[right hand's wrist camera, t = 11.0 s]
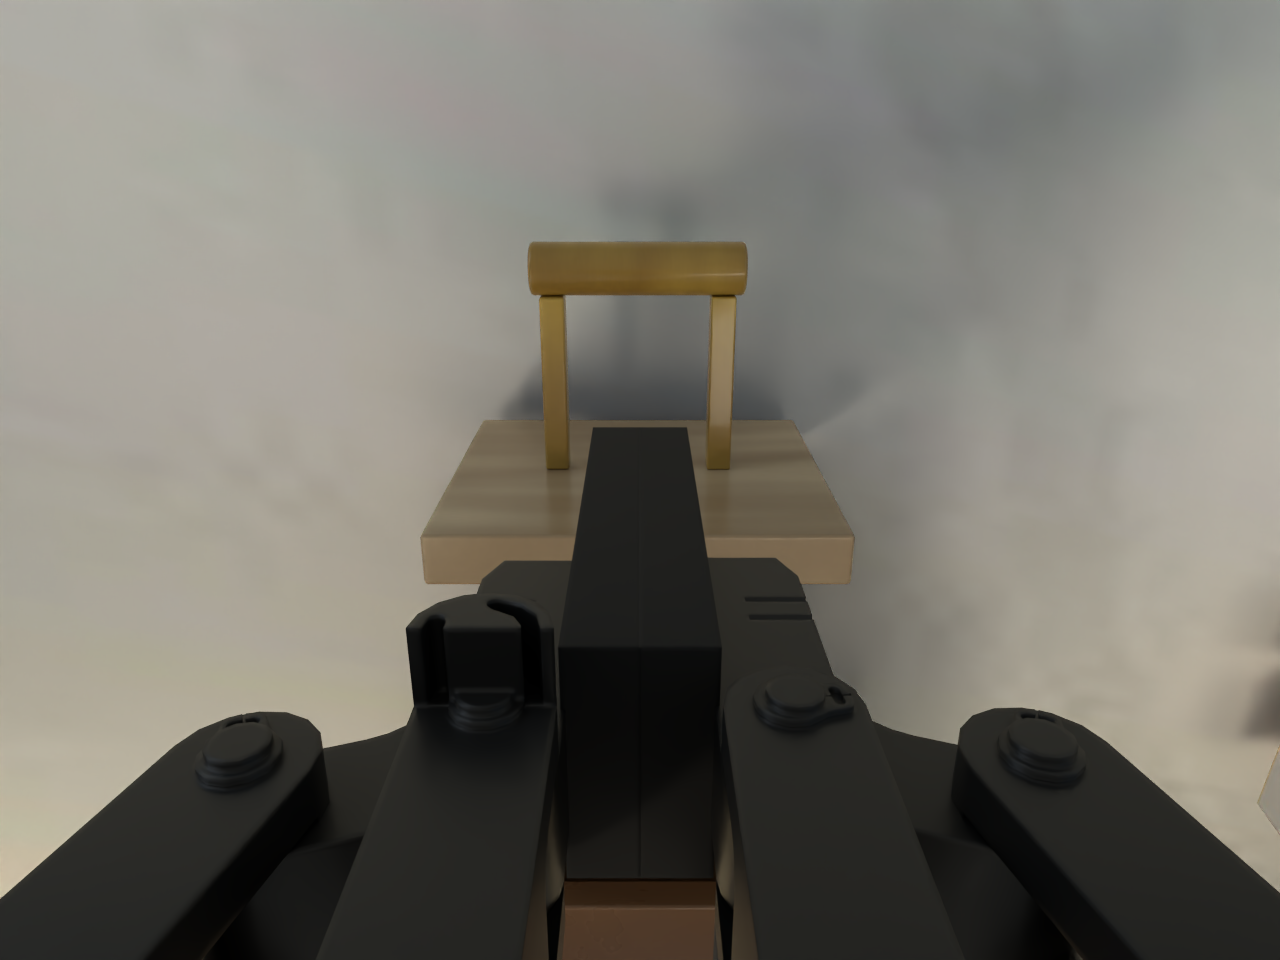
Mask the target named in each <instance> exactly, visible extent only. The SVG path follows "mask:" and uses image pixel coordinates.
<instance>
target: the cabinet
mask: <svg viewBox="0 0 1280 960" xmlns="http://www.w3.org/2000/svg"><path fill="white" fill-rule="evenodd" d="M564 897H565V932H564V943H563V954H562V960H713V948H714V923H715V897H716V881H564Z"/></svg>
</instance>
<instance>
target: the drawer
mask: <svg viewBox="0 0 1280 960" xmlns="http://www.w3.org/2000/svg"><path fill="white" fill-rule="evenodd" d="M747 274H748V254H747V247H746V244H745V243H744V242H532V243H530V245H529V249H528V281H529V288H530V291H531V294H533V295H541V297H540V299H539V310H540V335H541V360H542V385H543V410H544V420H485V421H483V422H482V424H481V426H480V428H479V430H478V432H477V434H476V435H475V437H474V439H473V441H472V443H471V445H470V446H469V448H468V450H467V452H466V454H465V456H464V457H463V459H462V461H461V463H460V465H459V467H458V468H457V470H456V472H455V474H454V476H453V478H452V480H451V481H450V483H449V485H448V487H447V489H446V491H445V492H444V494H443V496H442V498H441V500H440V502H439V503H438V505H437V507H436V509H435V511H434V513H433V515H432V516H431V518H430V520H429V522H428V524H427V526H426V527H425V529H424V531H423V533H422V535H421V537H420V539H421V549H422V559H423V570H424V580H425V582H426V583H427V584H481V581H482V579H483V578H484V577H485V576H486V575H488V574H489V573H490V572H491V571H492V570H494V569H495V568H496V567H497V566H499V565H500V564H501V563H502V562H503V561H572V556H573V550H574V544H575V537H576V531H577V525H578V518H579V512H580V506H581V499H582V493H583V487H584V481H585V474H586V468H587V462H588V455H589V449H590V443H591V437H592V430H593V427H687V430H688V437H689V443H690V449H691V455H692V462H693V468H694V474H695V481H696V487H697V493H698V499H699V506H700V512H701V518H702V525H703V531H704V537H705V544H706V550H707V556H708V558H777V559H778V560H779V561H780V562H782V563H783V564H784V565H785V566H786V567H788V568H789V569H790V570H791V571H793V572H794V573H795V574H796V575H797V576H798V577H799V580H800V583H801V584H848V583H850V581H851V572H852V561H853V551H854V540H855V537H854V534H853V533H852V531H851V529H850V527H849V525H848V523H847V521H846V519H845V518H844V516H843V514H842V512H841V510H840V508H839V506H838V504H837V502H836V501H835V499H834V497H833V495H832V493H831V491H830V489H829V487H828V486H827V484H826V482H825V480H824V478H823V476H822V474H821V472H820V470H819V469H818V467H817V465H816V463H815V461H814V459H813V457H812V455H811V454H810V452H809V450H808V448H807V446H806V444H805V442H804V440H803V438H802V437H801V435H800V433H799V431H798V429H797V427H796V425H795V423H794V422H793V421H792V420H732V407H733V381H734V354H735V328H736V302H737V299H736V296H735V295H743V294H744V293H745V290H746V285H747ZM565 295H710V309H709V345H708V382H707V418H706V420H569V390H568V356H567V323H566V296H565ZM564 881H716V871H715V861H714V871H713V878H567V871H566V866H565V876H564Z"/></svg>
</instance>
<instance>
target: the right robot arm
mask: <svg viewBox="0 0 1280 960" xmlns="http://www.w3.org/2000/svg"><path fill="white" fill-rule="evenodd" d="M406 635H407V645H408V654H409V663H410V673H411V682H412V691H413V701H414V708H413V710H412V713H411V715H410V718H409V721H408V723H407V725H406V726H404V727H402V728H400V729H397V730H395V731H393V732H390V733H388V734H385V735H381V736H377V737H374V738H370V739H367V740H362V741H357V742H353V743H348V744H343V745H338V746H333V747H329V748H324V749H323V746H322V740H321V733H320V732H319V731H318V730H317V729H316V727H315V726H314V725H313V724H312V723H311V722H310V721H309V720H308V719H305V718H302V717H299V716H296V715H293V714H290V713H287V712H255V713H247V714H245V715H242V714H241V715H237V716H233V717H229V718H226V719H224V720H221V721H219V722H216V723H214V724H211V725H209V726H206V727H204V728H201V729H199V730H198V731H196V732H195V733H193V734H192V735H190V736H189V737H187V738H186V739H184V740H183V741H181V742H180V743H178V744H177V745H175V746H174V747H173V748H172V749H170V750H169V751H168V752H167V753H166V754H165V755H164V756H162V757H161V758H160V759H159V760H158V761H157V762H156V763H155V764H153V765H152V766H151V767H150V768H149V769H148V770H147V771H145V772H144V773H143V774H142V775H141V776H140V777H139V778H137V779H136V780H135V781H134V782H133V783H132V784H131V785H129V786H128V787H127V788H126V789H125V790H124V791H123V792H122V793H120V794H119V795H118V796H117V797H116V798H115V799H114V800H112V801H111V802H110V803H109V804H108V805H107V806H106V807H104V808H103V809H102V810H101V811H100V812H99V813H98V814H96V815H95V816H94V817H93V818H92V819H91V820H90V821H89V822H87V823H86V824H85V825H84V826H83V827H82V828H81V829H79V830H78V831H77V832H76V833H75V834H74V835H73V836H71V837H70V838H69V839H68V840H67V841H66V842H65V843H64V844H62V845H61V846H60V847H59V848H58V849H57V850H56V851H54V852H53V853H52V854H51V855H50V856H49V857H48V858H46V859H45V860H44V861H43V862H42V863H41V864H40V865H38V866H37V867H36V868H35V869H34V870H33V871H32V872H31V873H29V874H28V875H27V876H26V877H25V878H24V879H23V880H21V881H20V882H19V883H18V884H17V885H16V886H15V887H13V888H12V889H11V890H10V891H9V892H8V893H7V894H5V895H4V896H3V897H2V898H1V899H0V960H562V954H563V943H564V932H565V897H564V876H565V866H566V871H567V878H713V871H714V861H715V871H716V897H715V923H714V948H713V960H1280V893H1279V892H1278V891H1277V890H1276V889H1275V888H1274V887H1272V886H1271V885H1270V884H1269V883H1268V882H1267V881H1266V880H1264V879H1263V878H1262V877H1261V876H1260V875H1259V874H1258V873H1256V872H1255V871H1254V870H1253V869H1252V868H1251V867H1250V866H1248V865H1247V864H1246V863H1245V862H1244V861H1243V860H1242V859H1240V858H1239V857H1238V856H1237V855H1236V854H1235V853H1233V852H1232V851H1231V850H1230V849H1229V848H1228V847H1227V846H1225V845H1224V844H1223V843H1222V842H1221V841H1220V840H1219V839H1217V838H1216V837H1215V836H1214V835H1213V834H1212V833H1211V832H1209V831H1208V830H1207V829H1206V828H1205V827H1204V826H1203V825H1201V824H1200V823H1199V822H1198V821H1197V820H1196V819H1194V818H1193V817H1192V816H1191V815H1190V814H1189V813H1188V812H1186V811H1185V810H1184V809H1183V808H1182V807H1181V806H1180V805H1178V804H1177V803H1176V802H1175V801H1174V800H1173V799H1172V798H1170V797H1169V796H1168V795H1167V794H1166V793H1165V792H1164V791H1162V790H1161V789H1160V788H1159V787H1158V786H1157V785H1155V784H1154V783H1153V782H1152V781H1151V780H1150V779H1149V778H1147V777H1146V776H1145V775H1144V774H1143V773H1142V772H1141V771H1139V770H1138V769H1137V768H1136V767H1135V766H1134V765H1133V764H1131V763H1130V762H1129V761H1128V760H1127V759H1126V758H1125V757H1123V756H1122V755H1121V754H1120V753H1119V752H1118V751H1117V750H1115V749H1114V748H1113V747H1112V746H1111V745H1110V744H1108V743H1107V742H1106V741H1105V740H1103V739H1102V738H1100V737H1099V736H1097V735H1096V734H1094V733H1093V732H1091V731H1090V730H1088V729H1087V728H1085V727H1084V726H1082V725H1080V724H1077V723H1075V722H1072V721H1070V720H1067V719H1065V718H1062V717H1060V716H1057V715H1055V714H1052V713H1048V712H1044V711H1040V710H1039V711H1036V710H1035V709H1026V708H994V709H991V710H988V711H985V712H982V713H979V714H976V715H973V716H972V717H971V718H970V719H969V720H968V721H967V722H966V723H965V724H964V725H963V726H962V727H961V728H960V733H959V740H958V745H956V744H951V743H946V742H941V741H936V740H932V739H927V738H922V737H917V736H913V735H909V734H906V733H902V732H898V731H895V730H892V729H889V728H887V727H885V726H883V725H880V724H878V723H876V722H873V721H872V719H871V717H870V714H869V712H868V709H867V706H866V704H865V703H864V702H863V700H862V699H861V698H860V696H859V695H858V693H857V692H856V691H855V689H853V688H852V687H850V686H849V685H847V684H846V683H844V682H842V681H841V680H839V679H838V678H836V677H835V676H833V673H832V670H831V667H830V664H829V662H828V659H827V656H826V653H825V650H824V648H823V645H822V642H821V639H820V636H819V633H818V631H817V628H816V625H815V622H814V620H812V614H811V611H810V608H809V605H808V603H807V602H806V597H805V594H804V591H803V588H802V586H801V583H800V580H799V577H798V576H797V575H796V574H795V573H794V572H793V571H791V570H790V569H789V568H788V567H786V566H785V565H784V564H783V563H782V562H780V561H779V560H778V559H777V558H708V556H707V550H706V544H705V537H704V531H703V525H702V518H701V512H700V506H699V499H698V493H697V487H696V481H695V474H694V468H693V462H692V455H691V449H690V443H689V437H688V430H687V427H593V430H592V437H591V443H590V449H589V455H588V462H587V468H586V474H585V481H584V487H583V493H582V499H581V506H580V512H579V518H578V525H577V531H576V537H575V544H574V550H573V556H572V561H503V562H502V563H501V564H500V565H499V566H497V567H496V568H495V569H494V570H492V571H491V572H490V573H489V574H488V575H486V576H485V577H484V578H483V579H482V581H481V584H480V586H479V589H478V592H477V594H473V595H463V596H460V597H456V598H453V599H449V600H446V601H442V602H439V603H437V604H435V605H433V606H431V607H430V608H428V609H426V610H424V611H422V612H421V613H419V614H417V616H416V617H415V618H414V619H413V620H412V621H411V623H410V624H409V625H408V626H407V627H406Z"/></svg>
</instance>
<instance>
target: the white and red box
mask: <svg viewBox="0 0 1280 960" xmlns="http://www.w3.org/2000/svg"><path fill="white" fill-rule="evenodd" d="M1257 804H1258V805H1259V806H1260V808H1261V809H1262V811H1263V812H1264V813H1265V815H1266V816H1267V818H1268V819H1269V820H1270V822H1271V823H1272V825H1273V826H1274V827H1275V829H1276V830H1277V831H1278V833H1279V834H1280V746H1279V748H1278V751H1277V754H1276V756H1275V759H1274V761H1273V764H1272V766H1271V769H1270V771H1269V774H1268V777H1267V779H1266V782H1265V784H1264V787H1263V789H1262V792H1261V794H1260V797H1259V800H1258V802H1257Z"/></svg>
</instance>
